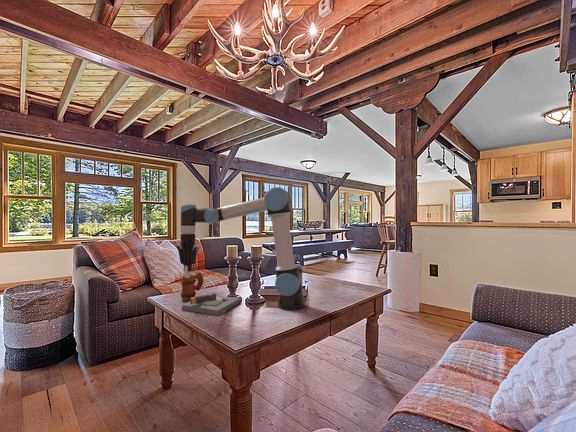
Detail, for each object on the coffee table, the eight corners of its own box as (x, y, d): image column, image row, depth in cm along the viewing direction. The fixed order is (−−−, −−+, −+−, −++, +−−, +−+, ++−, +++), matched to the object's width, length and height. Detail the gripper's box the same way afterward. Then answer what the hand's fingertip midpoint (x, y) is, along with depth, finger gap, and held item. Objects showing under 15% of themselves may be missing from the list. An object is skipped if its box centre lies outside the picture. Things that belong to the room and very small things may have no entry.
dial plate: (239, 302, 165) (240, 297, 165) (217, 315, 144) (217, 309, 144) (207, 298, 173) (207, 293, 173) (181, 309, 152) (182, 304, 152)
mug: (185, 302, 164) (185, 276, 163) (176, 300, 168) (177, 274, 168) (206, 297, 175) (206, 272, 175) (198, 294, 180) (198, 270, 180)
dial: (216, 299, 166) (216, 290, 166) (226, 304, 158) (226, 294, 158) (186, 305, 155) (186, 295, 155) (195, 311, 146) (195, 300, 146)
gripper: (202, 233, 156) (202, 277, 156) (182, 232, 161) (182, 274, 161) (193, 234, 149) (192, 280, 149) (173, 233, 154) (172, 277, 154)
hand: (187, 277), depth 155 cm, fingers closed
